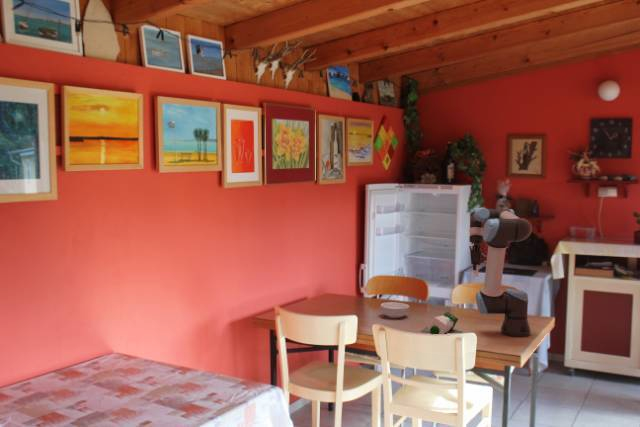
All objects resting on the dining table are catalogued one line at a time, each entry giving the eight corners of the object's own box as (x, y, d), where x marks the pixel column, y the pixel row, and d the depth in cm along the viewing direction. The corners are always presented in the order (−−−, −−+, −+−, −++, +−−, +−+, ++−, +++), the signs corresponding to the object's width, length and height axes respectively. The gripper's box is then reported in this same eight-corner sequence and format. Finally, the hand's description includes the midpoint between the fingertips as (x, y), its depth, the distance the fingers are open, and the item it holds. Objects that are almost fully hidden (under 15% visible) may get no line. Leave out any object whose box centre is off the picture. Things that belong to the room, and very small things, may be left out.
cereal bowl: (405, 321, 363) (406, 309, 362) (377, 319, 368) (377, 307, 368) (411, 314, 379) (411, 303, 378) (384, 312, 384) (384, 301, 384)
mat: (462, 331, 341) (462, 331, 341) (457, 336, 332) (457, 335, 332) (426, 327, 350) (426, 326, 350) (420, 331, 341) (420, 331, 341)
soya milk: (440, 322, 349) (424, 329, 333) (447, 309, 346) (432, 315, 330) (453, 331, 345) (438, 339, 328) (460, 318, 342) (446, 325, 326)
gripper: (474, 237, 373) (473, 277, 368) (465, 233, 363) (464, 274, 358) (486, 237, 369) (486, 277, 364) (477, 233, 359) (476, 274, 354)
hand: (475, 276), depth 361 cm, fingers closed
